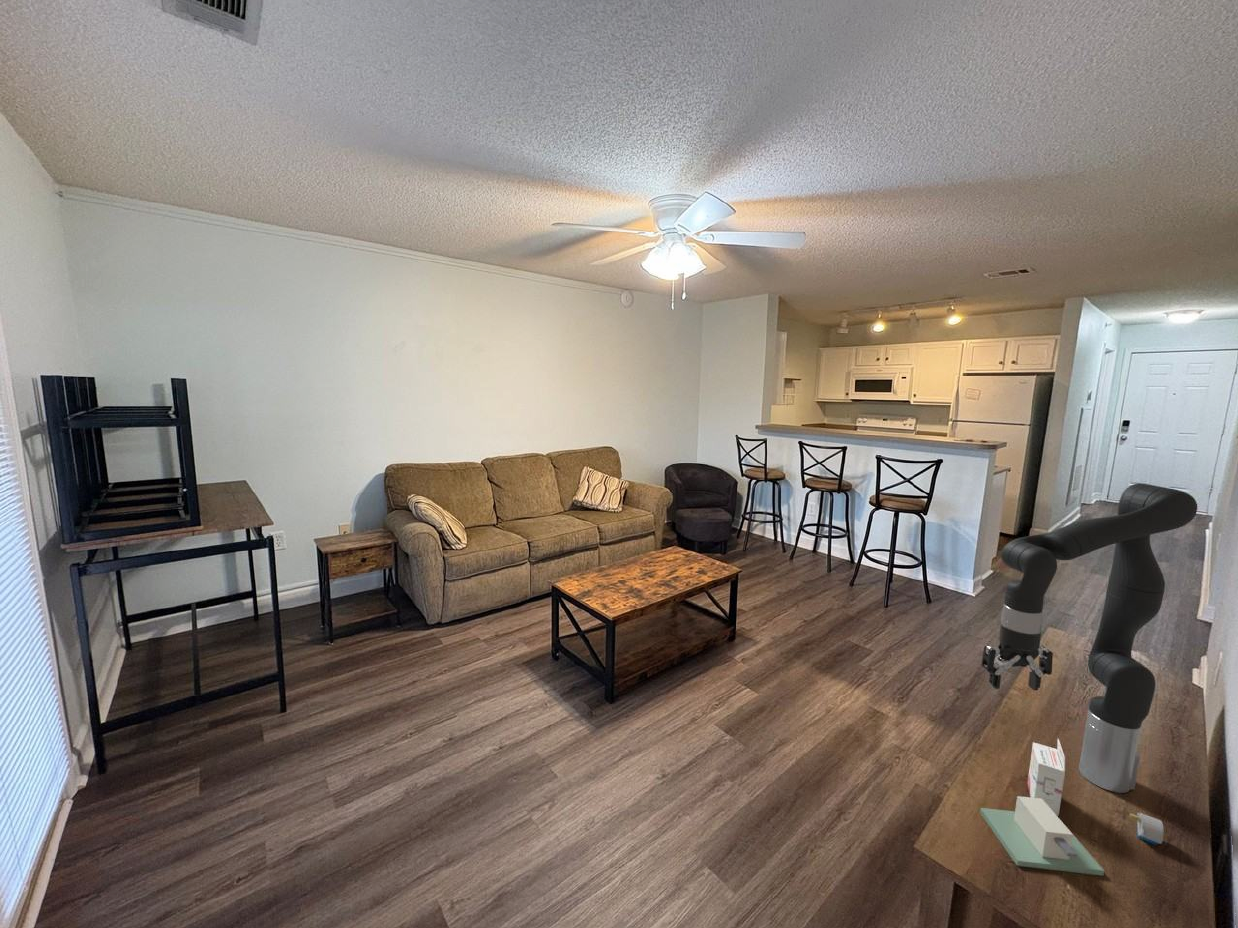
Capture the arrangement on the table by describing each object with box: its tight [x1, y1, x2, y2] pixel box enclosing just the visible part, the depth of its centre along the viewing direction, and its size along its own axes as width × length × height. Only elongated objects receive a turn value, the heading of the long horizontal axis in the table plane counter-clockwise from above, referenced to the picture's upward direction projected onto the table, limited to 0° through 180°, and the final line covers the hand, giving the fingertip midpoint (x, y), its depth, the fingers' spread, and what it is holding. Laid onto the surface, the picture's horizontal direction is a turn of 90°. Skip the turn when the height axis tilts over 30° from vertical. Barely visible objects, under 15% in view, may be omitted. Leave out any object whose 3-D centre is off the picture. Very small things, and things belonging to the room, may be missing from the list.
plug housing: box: [1014, 795, 1076, 860], centre depth 104 cm, size 5×12×6 cm, turn 172°
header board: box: [979, 807, 1105, 876], centre depth 106 cm, size 16×13×5 cm
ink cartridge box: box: [1026, 738, 1066, 816], centre depth 117 cm, size 9×5×15 cm, turn 148°
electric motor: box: [1129, 812, 1165, 846], centre depth 108 cm, size 7×5×5 cm
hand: (1013, 687), depth 119 cm, fingers open, 8 cm apart
